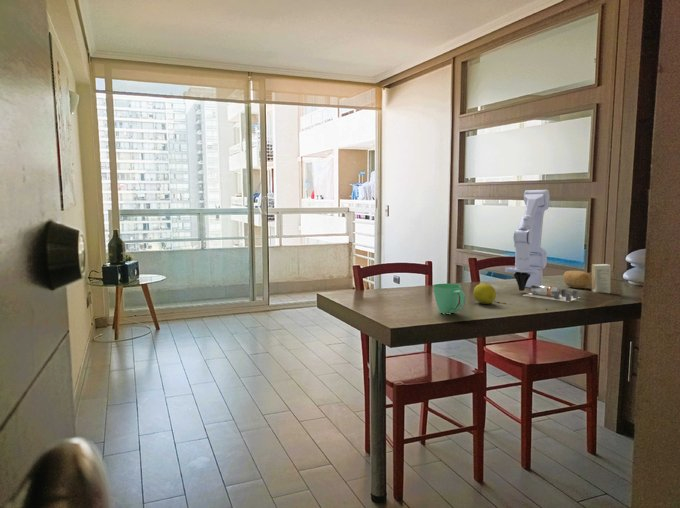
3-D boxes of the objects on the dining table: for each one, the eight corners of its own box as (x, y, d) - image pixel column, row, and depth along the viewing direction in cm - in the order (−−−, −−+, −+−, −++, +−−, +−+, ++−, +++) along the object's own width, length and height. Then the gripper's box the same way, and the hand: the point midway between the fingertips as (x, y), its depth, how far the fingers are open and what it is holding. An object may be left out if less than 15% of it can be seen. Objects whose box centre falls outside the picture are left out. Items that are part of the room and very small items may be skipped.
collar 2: (565, 300, 194) (565, 292, 194) (574, 297, 200) (574, 290, 200) (569, 301, 193) (569, 293, 193) (578, 297, 199) (578, 290, 199)
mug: (427, 311, 184) (427, 284, 183) (450, 309, 188) (450, 282, 187) (451, 320, 170) (451, 291, 169) (475, 317, 174) (475, 288, 173)
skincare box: (606, 292, 213) (607, 263, 212) (610, 294, 209) (611, 265, 208) (590, 292, 214) (591, 263, 213) (594, 294, 210) (595, 265, 208)
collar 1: (554, 299, 198) (554, 291, 197) (563, 296, 203) (563, 288, 203) (557, 299, 197) (557, 291, 196) (566, 296, 202) (566, 289, 202)
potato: (574, 285, 232) (574, 268, 231) (597, 290, 218) (597, 272, 217) (556, 286, 229) (556, 269, 228) (578, 291, 216) (578, 273, 215)
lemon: (499, 305, 191) (500, 285, 190) (480, 306, 190) (480, 286, 189) (488, 300, 202) (488, 280, 201) (469, 301, 201) (469, 281, 200)
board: (521, 297, 206) (521, 295, 206) (534, 293, 214) (534, 291, 214) (568, 303, 192) (568, 301, 192) (580, 299, 200) (580, 297, 200)
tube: (530, 294, 207) (530, 284, 207) (535, 293, 210) (535, 283, 209) (554, 297, 200) (554, 287, 199) (558, 296, 202) (559, 286, 202)
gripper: (501, 258, 213) (501, 289, 214) (534, 260, 202) (533, 293, 204) (510, 256, 218) (509, 287, 219) (542, 259, 207) (541, 291, 209)
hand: (521, 290), depth 212 cm, fingers closed
